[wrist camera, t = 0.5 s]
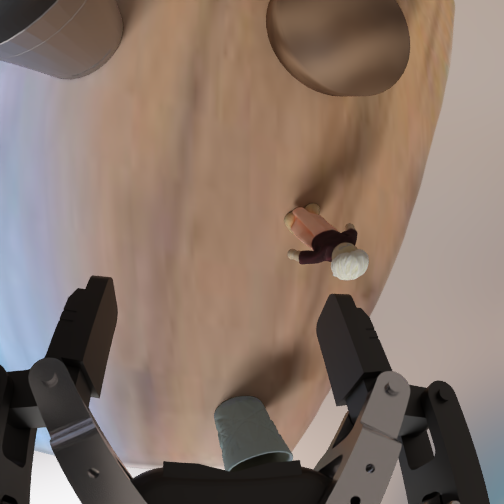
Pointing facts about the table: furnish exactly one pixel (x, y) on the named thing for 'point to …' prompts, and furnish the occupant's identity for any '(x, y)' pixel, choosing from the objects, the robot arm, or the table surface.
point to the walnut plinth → (340, 43)
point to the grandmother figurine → (326, 243)
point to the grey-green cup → (248, 435)
